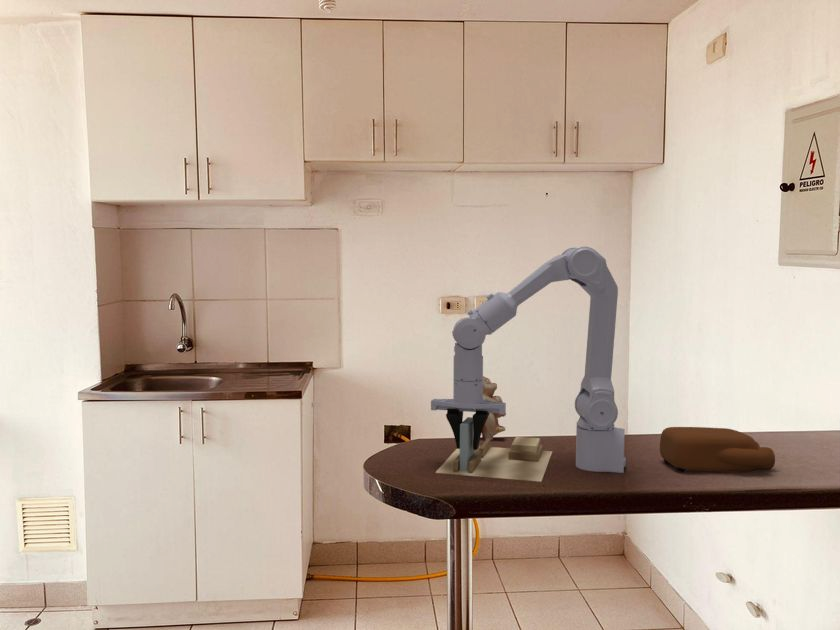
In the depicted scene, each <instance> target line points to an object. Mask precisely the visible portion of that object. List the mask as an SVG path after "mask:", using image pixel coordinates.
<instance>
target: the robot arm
mask: <svg viewBox="0 0 840 630" xmlns="http://www.w3.org/2000/svg"><path fill="white" fill-rule="evenodd" d="M569 280H570V281H572V282H574V283H576V284H578V285H579V286H580V287H581V289H583V290H584V292H586V293H587V294H588V296H589V297H590V298H589V299H590V300H589V313H588V325H587V327H588V329H587V339H586V353H585V362H584V363H585V364H584V375H583V378H582V380H581V383H580V389H579V392H578V394H577V396H576V397H575V400H574V409H575V411H576V412H575V413H577V414H578V416H579V418H578V420H577V421H576V426H575V427H576V431H575V432H576V434H575V435H576V436H575V437H576V439H575V445H576V446H575V467H576V468H578V469H579V470H582V471H587V472H597V473H599V472H601V473H602V472H603V473H604V472H606V473H620V474H621V473H622V474H624V472H625V469H624V468H625V467H626V466H627V465H626V464H627V462H626V461H627V459H626V458H627V457H626V456H625V428H623V427H621V428H620V427H615V423H616V421H617V420H618V415H619V412H618V411H619V410H618V406H617V405H616V400H615V389H614V386H613V381H612V372H613V371H612V369H613V360H614V347H615V336H616V335H615V333H616V323H617V321H616V320H617V309H618V295H619V287H618V285H617V282H616V281H615V279H614V277H613V275H612V272H611V271H610V269H609V268H608V264H607V259H606V258H605V257H603V255H601V253H600V252H598V251H597V250H596V249H594V248H592V247H590V246H579V247H570V248H567V249H565V250H564V251H563V252H562V253H561V254H558V255H556V256H553V257H552V258H551V259H549V260H548V261H546V262H544V263H542V265H541V266H539V267H538V268H537V269H536V270H534V271H533V272H532V273H531V274H529V275H528V276H527V277H526V278H525V279H523V280H522V281H521V282H519V284H517V285H516V286H514V287H513V288H511V290H510V291H508V292H501V291H498V292H496V293H494V294H493V293H490V294H488V295H487V296H486V299H487V300H486V301H484V302H483V303H481V304H480V305H478V307H476V308H475V309H473V310H472V309H470V310H468V311H467V312H466V314H467V315H468V316H467V317H463V318H459V320H457V321H456V323H455V324H454V327H453V330H452V332H451V333H452V337H453V340H454V342H455V343H454V347H453V352H454V355H453V397H452V398H433V399H431V400H430V411H447V412H446V413H445V416H446V417H445V418H446V420H447V421H448V423H449V425H450V428H451V431H452V434H453V437H454V440H455V446H456V449H460V424H461V423H462V422H463V421H464V420H463V418H464V412H469V413H470V412H471V413H473V414H472V417H473V429H474V437H473V450H477V449H478V448H479V446H480V441H481V438H482V430H483V427H484V425H485V423H486V420H487V418H488V416H489V414H490V413H499V414H505V412H506V410H507V409H506V405H507V403H506V402H503V403H501V402H492V401H485V400H483V376H484V356H483V344H484V343H485V340H486V338H487V337H486V336H487V335H488V336H489V335H492V334H494V333H495V332H496V331H497V330H499V329H501V327H503V326H504V325H505V324H507V323H508V322H510V321H511V320H512V319H513V318H515V317H516V315H517V310H518V307H519V306H520V305H522V304H523V303H524V302H525V301H527V300H528V299H530V298H531V297H533V296H534V295H535V294H536V293H538V292H540V291H541V290H543V289H544V288H545V287H547V286H548V285H549V284H551V283H552V284H553V283H555V282H556V283H557V282H562V281H569ZM506 413H507V412H506Z"/></svg>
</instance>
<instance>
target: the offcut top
mask: <svg viewBox="0 0 840 630" xmlns="http://www.w3.org/2000/svg"><path fill="white" fill-rule="evenodd" d="M540 445H541V438H539V437H524V436H523V437H522V436H515V438H514V440H513V441H512V443H511V446H510V448H511V452H519V453H533V454H536V453H537V451H538V448H539V446H540Z"/></svg>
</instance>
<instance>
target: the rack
mask: <svg viewBox="0 0 840 630" xmlns="http://www.w3.org/2000/svg"><path fill="white" fill-rule="evenodd" d="M491 443H492V440H491V438H487V439H486V440H484V441H483V443H482V444H481V445H479V448H478V449H477V450H475V454H474V456H473V457H472V458H471V460H470V461H469V462H468V471H467V472H466V471H460V449H457V448H455V449H454V451H453V452H452V453H451V454H450V456H449V457H447V459H446V460H445V461H444V462H443V463H442V465H441V466H440V467H439V468H438V469H437V470H436V472H435V474H444V475H456V476H457V475H458V476H466V477H467V476H468V477H480V478H481V477H482V478H490V479H491V478H493V479H502V480H503V479H505V480H516V481H517V480H518V481H529V482H538V483H541V482H542V481H543V478H544V475H545V473H546V470H547V468H548V465H549V462H550V460H551V456H552V454H553V450H552V451H550V450H542V454H541V456H540V459H539V461H538V462H533V461H520V460H508V454H509V451H510V449H511V447H510V448H509V447H499V446H498V447H496V446H495V447H493V446H491V445H492V444H491ZM442 479H445V478H444V477H443V478H442ZM454 480H457V479H454ZM468 480H469V479H468ZM468 480H466V481H468ZM478 482H480V481H478ZM489 483H491V484H492V482H489ZM502 484H504V483H502ZM524 486H527V485H524ZM536 487H539V486H536Z"/></svg>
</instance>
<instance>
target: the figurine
mask: <svg viewBox="0 0 840 630" xmlns="http://www.w3.org/2000/svg"><path fill="white" fill-rule="evenodd" d="M497 388H498V384H497V383H496V382H492V381H491V379H490V378H488V377H486V376H484V375H483V400H485V401H492V402H501V403H504V402H503V400H502V397H501V396H499V395H495V391H496V390H498V389H497ZM506 416H507V412H505V414H499V413H490V414H489V416H488V418H487V420H486V423H485V425H484V427H483V430H482V433H481V438H482V440H484V441H485V440H486V439H487V438H491V441H493V440H494V437H495V436H496V435H497V434H500V433H502V432H503V433H504V432H505V431H506V427H505V426H503V425H500V423H499V419H500V418H502V417H506Z"/></svg>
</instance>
